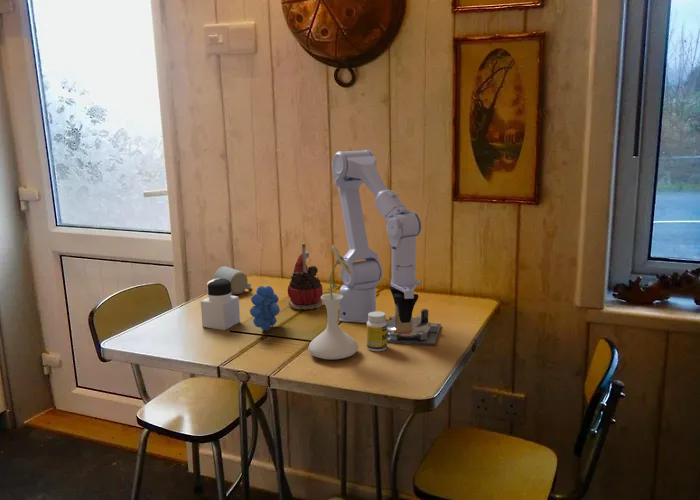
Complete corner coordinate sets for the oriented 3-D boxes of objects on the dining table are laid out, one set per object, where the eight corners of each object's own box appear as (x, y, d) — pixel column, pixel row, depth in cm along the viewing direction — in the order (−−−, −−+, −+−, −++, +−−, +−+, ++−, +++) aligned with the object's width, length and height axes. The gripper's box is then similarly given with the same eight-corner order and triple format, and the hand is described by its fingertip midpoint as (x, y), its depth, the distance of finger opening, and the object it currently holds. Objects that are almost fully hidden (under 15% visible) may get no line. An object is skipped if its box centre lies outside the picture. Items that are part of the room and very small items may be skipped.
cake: (308, 314, 177) (306, 249, 173) (281, 309, 182) (278, 246, 178) (330, 303, 186) (328, 242, 182) (303, 298, 191) (301, 238, 187)
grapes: (268, 340, 158) (266, 293, 156) (245, 336, 161) (242, 290, 158) (292, 325, 169) (290, 280, 166) (269, 322, 171) (267, 278, 169)
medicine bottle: (240, 322, 172) (238, 278, 169) (224, 330, 165) (221, 285, 163) (218, 318, 175) (215, 275, 172) (201, 327, 168) (198, 282, 166)
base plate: (372, 341, 156) (372, 338, 156) (383, 322, 170) (383, 319, 170) (434, 345, 153) (434, 343, 153) (441, 325, 166) (441, 323, 166)
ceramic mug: (232, 297, 193) (231, 272, 191) (213, 293, 198) (212, 268, 196) (257, 289, 201) (256, 265, 200) (238, 285, 206) (237, 262, 204)
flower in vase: (353, 365, 142) (352, 254, 137) (303, 362, 144) (299, 253, 139) (363, 343, 155) (361, 241, 149) (316, 341, 157) (313, 240, 151)
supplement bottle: (385, 352, 149) (385, 317, 148) (365, 351, 150) (364, 316, 148) (388, 344, 154) (388, 311, 152) (368, 343, 155) (368, 310, 153)
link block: (397, 332, 155) (397, 307, 154) (395, 327, 159) (395, 302, 157) (411, 331, 155) (412, 306, 154) (409, 326, 159) (409, 302, 157)
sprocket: (399, 344, 152) (399, 326, 151) (369, 326, 164) (369, 309, 163) (447, 334, 158) (447, 317, 157) (414, 317, 170) (414, 301, 169)
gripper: (427, 271, 147) (426, 328, 150) (414, 256, 161) (413, 308, 164) (396, 272, 146) (396, 329, 149) (385, 257, 160) (386, 310, 163)
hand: (403, 318), depth 156 cm, fingers open, 4 cm apart
